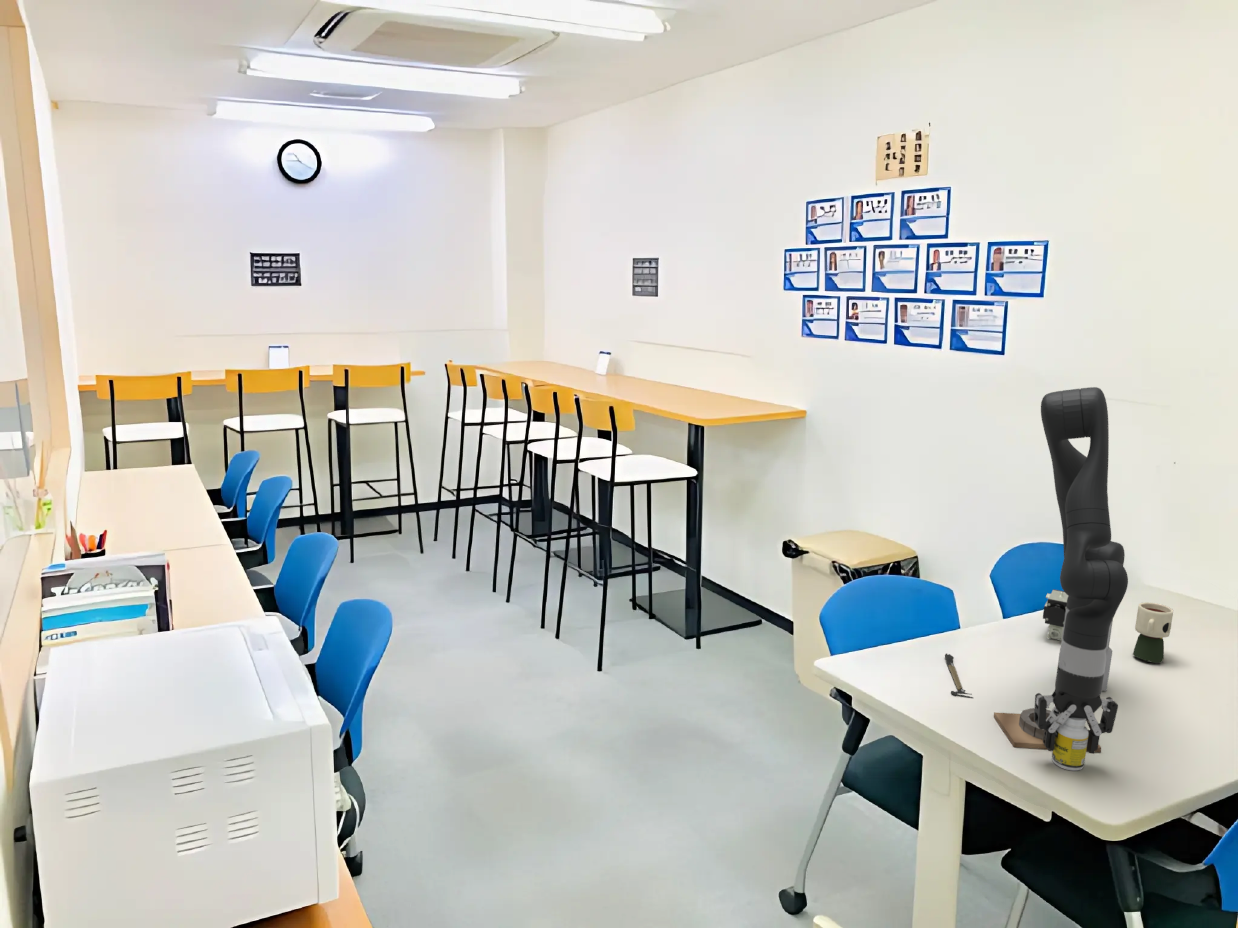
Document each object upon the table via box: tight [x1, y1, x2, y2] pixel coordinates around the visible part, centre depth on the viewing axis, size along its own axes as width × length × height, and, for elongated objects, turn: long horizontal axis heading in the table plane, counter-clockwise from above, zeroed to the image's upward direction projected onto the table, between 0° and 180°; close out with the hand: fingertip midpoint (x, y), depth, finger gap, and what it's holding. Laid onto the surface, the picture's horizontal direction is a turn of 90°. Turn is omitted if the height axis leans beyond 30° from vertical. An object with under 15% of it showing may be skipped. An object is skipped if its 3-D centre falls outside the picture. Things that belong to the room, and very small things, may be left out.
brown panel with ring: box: [993, 707, 1102, 753], centre depth 180 cm, size 16×12×3 cm
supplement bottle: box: [1051, 718, 1089, 771], centre depth 169 cm, size 5×5×10 cm
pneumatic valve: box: [1042, 588, 1068, 642], centre depth 227 cm, size 6×12×12 cm, turn 148°
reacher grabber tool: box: [944, 653, 974, 699], centre depth 205 cm, size 21×7×1 cm, turn 166°
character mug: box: [1132, 602, 1174, 664], centre depth 215 cm, size 11×7×13 cm, turn 142°
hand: (1069, 749), depth 169 cm, fingers open, 6 cm apart
